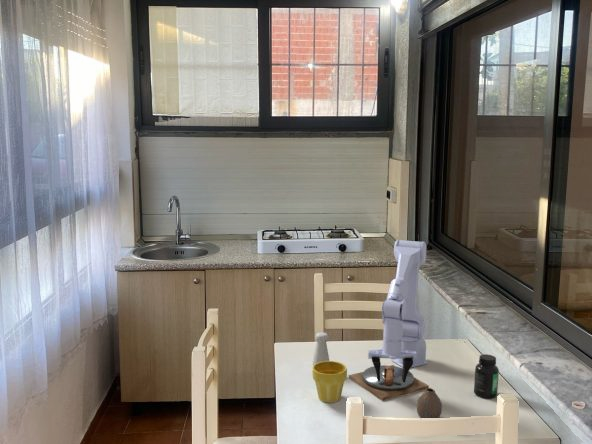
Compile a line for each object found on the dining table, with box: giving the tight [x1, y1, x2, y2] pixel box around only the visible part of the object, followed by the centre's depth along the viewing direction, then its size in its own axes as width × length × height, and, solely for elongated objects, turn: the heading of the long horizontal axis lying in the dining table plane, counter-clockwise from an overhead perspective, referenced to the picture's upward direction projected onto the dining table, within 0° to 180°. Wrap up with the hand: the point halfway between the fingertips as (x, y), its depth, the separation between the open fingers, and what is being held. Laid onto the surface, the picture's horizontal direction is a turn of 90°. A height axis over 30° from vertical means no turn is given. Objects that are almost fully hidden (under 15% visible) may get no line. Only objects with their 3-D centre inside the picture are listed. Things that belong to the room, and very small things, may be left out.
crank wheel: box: [362, 364, 414, 390], centre depth 190 cm, size 16×16×7 cm
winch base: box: [348, 364, 430, 402], centre depth 191 cm, size 18×18×1 cm
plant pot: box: [311, 360, 348, 404], centre depth 179 cm, size 10×10×10 cm
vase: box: [416, 387, 443, 419], centre depth 167 cm, size 7×7×9 cm
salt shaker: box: [312, 331, 330, 367], centre depth 198 cm, size 6×6×13 cm
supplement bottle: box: [473, 354, 500, 400], centre depth 183 cm, size 7×7×12 cm
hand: (391, 380), depth 184 cm, fingers open, 7 cm apart
